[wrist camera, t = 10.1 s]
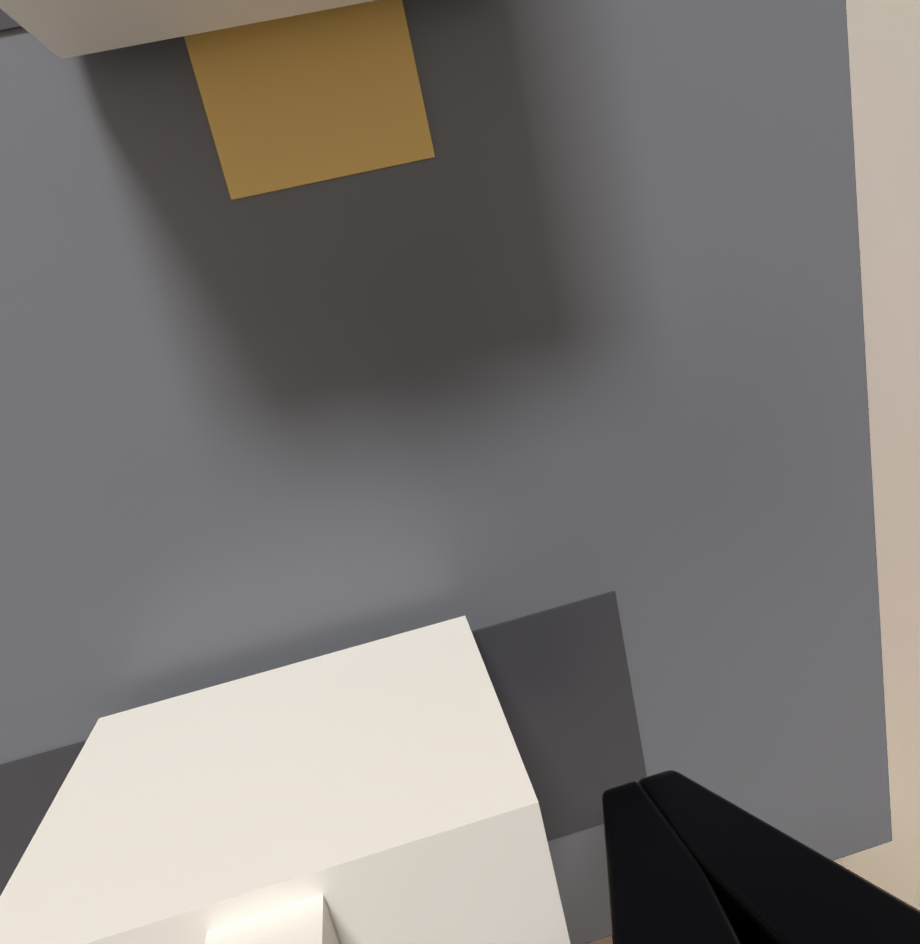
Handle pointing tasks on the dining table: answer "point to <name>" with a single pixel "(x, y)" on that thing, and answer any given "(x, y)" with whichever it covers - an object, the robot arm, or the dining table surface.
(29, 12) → the middle tab
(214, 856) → the tab
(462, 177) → the switch panel
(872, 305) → the dining table surface
